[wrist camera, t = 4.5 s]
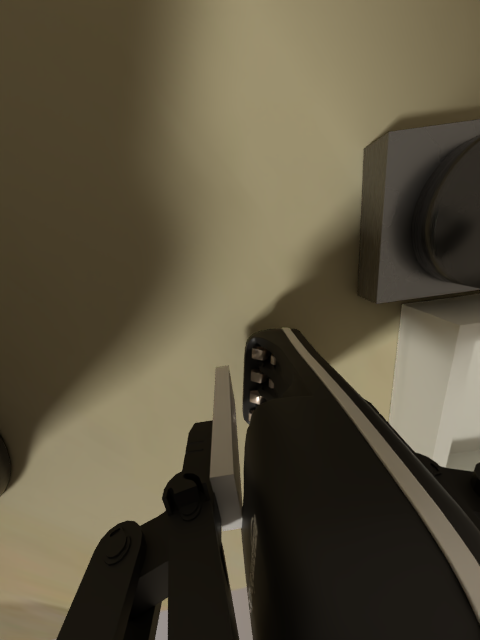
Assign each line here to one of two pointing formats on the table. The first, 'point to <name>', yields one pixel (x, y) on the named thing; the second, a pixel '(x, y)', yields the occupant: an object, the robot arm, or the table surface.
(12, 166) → the table surface
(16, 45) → the table surface
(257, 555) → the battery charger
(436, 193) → the speaker
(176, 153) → the table surface
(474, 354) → the tray
